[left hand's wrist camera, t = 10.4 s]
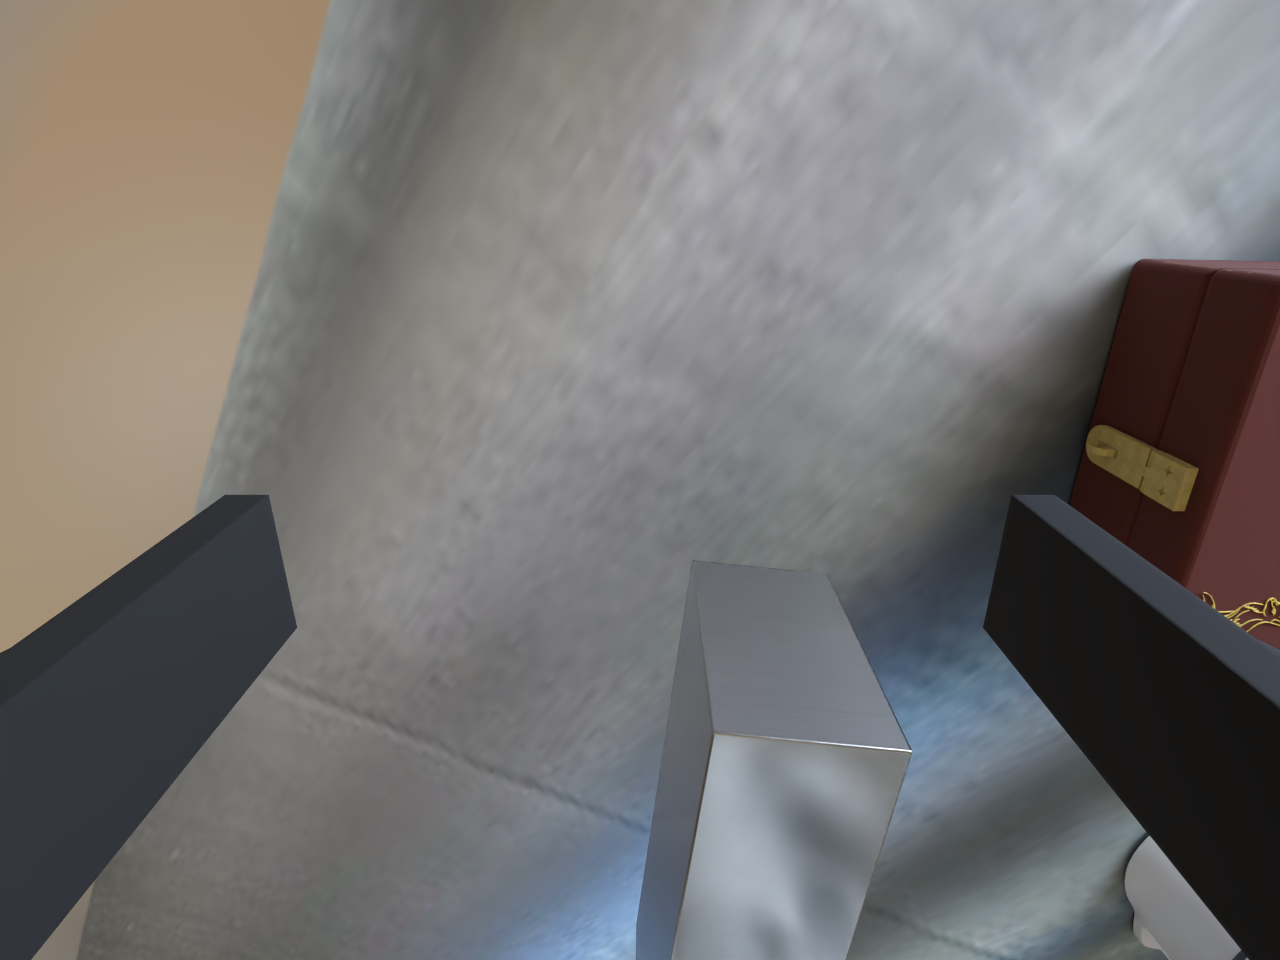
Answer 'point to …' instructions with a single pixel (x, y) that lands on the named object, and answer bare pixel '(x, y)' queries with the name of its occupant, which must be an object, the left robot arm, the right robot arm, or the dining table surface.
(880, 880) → the dining table surface
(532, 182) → the dining table surface
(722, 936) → the long box
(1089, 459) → the box
